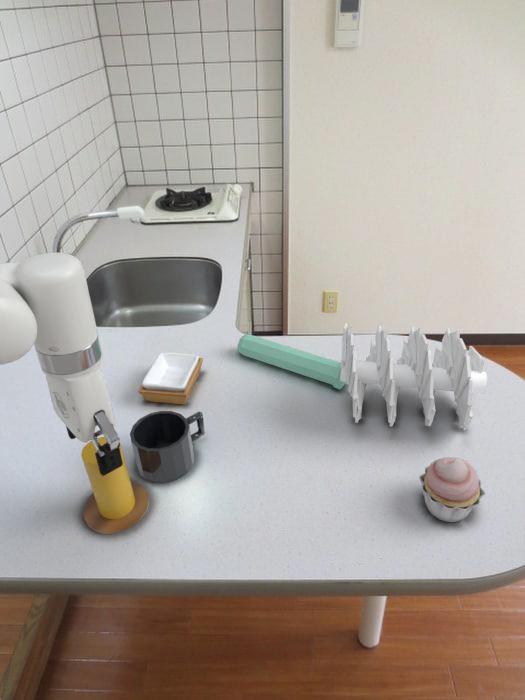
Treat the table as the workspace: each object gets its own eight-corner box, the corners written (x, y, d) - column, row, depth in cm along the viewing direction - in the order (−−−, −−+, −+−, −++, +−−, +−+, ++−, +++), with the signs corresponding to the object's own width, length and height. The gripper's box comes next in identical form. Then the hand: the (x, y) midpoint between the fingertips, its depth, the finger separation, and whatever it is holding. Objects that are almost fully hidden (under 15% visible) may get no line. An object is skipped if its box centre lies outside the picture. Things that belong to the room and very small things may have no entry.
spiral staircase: (472, 449, 96) (334, 435, 98) (465, 364, 104) (339, 353, 107) (508, 408, 80) (343, 393, 82) (496, 312, 89) (348, 301, 91)
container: (235, 331, 113) (340, 364, 101) (250, 329, 118) (352, 359, 106) (231, 357, 115) (334, 392, 103) (246, 354, 120) (346, 387, 108)
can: (91, 514, 81) (73, 459, 74) (111, 487, 86) (95, 433, 79) (123, 523, 80) (107, 467, 73) (141, 495, 84) (128, 440, 77)
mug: (157, 493, 85) (150, 460, 81) (127, 461, 91) (119, 429, 87) (221, 452, 92) (217, 420, 88) (190, 425, 98) (185, 394, 94)
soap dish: (188, 410, 102) (185, 389, 99) (140, 405, 103) (136, 385, 100) (205, 371, 112) (202, 352, 109) (161, 368, 113) (157, 349, 111)
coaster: (71, 525, 80) (70, 522, 80) (107, 477, 88) (106, 475, 88) (128, 541, 78) (127, 539, 77) (160, 490, 85) (159, 488, 85)
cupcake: (461, 478, 85) (472, 433, 79) (489, 526, 77) (505, 480, 72) (405, 486, 84) (413, 441, 78) (429, 535, 76) (439, 489, 71)
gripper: (14, 335, 69) (45, 433, 79) (71, 395, 58) (99, 500, 68) (68, 316, 73) (92, 411, 83) (131, 369, 62) (149, 471, 72)
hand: (95, 451), depth 75 cm, fingers open, 9 cm apart
